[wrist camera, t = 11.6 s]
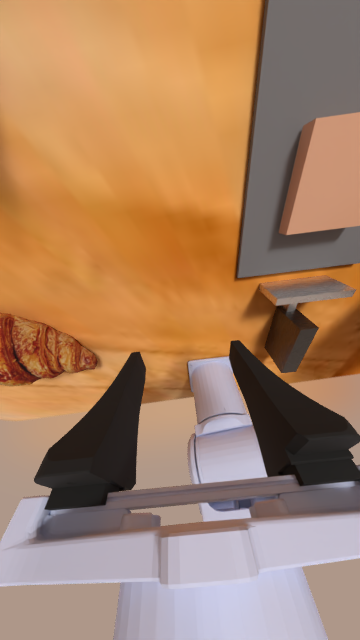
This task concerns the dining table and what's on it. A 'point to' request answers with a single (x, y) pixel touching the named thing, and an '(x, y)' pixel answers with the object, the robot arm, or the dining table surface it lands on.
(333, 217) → the tile
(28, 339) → the croissant
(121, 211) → the dining table surface
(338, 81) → the mat
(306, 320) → the turner
